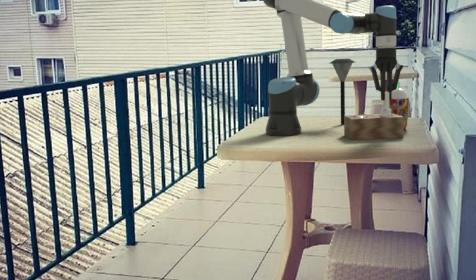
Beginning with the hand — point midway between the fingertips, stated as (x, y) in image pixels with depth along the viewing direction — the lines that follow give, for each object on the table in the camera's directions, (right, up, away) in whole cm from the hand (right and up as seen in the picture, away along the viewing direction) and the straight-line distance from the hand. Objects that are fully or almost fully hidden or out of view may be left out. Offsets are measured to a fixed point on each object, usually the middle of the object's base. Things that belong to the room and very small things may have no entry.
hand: (386, 108), depth 206 cm
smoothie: (+10, -8, +16) cm, 21 cm away
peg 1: (-10, -11, +1) cm, 15 cm away
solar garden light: (-9, -5, +38) cm, 40 cm away
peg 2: (0, -8, +1) cm, 8 cm away
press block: (-5, -11, +2) cm, 12 cm away
